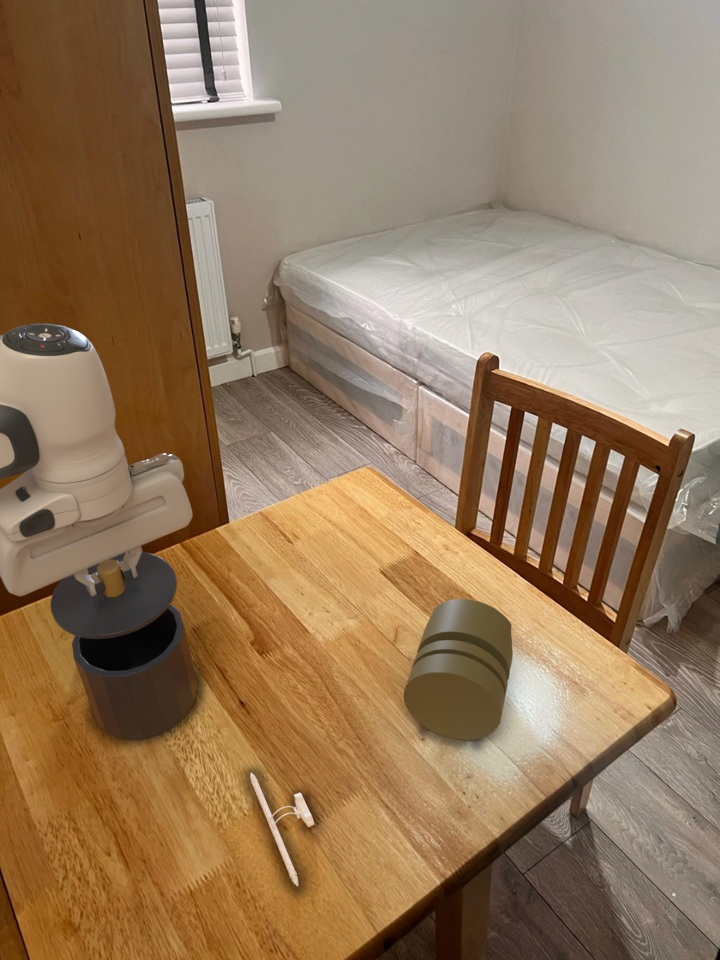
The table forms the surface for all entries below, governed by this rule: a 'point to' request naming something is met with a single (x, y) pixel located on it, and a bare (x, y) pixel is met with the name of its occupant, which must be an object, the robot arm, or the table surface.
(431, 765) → the table surface
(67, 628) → the tin lid
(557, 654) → the table surface
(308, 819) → the picture light
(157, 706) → the tin
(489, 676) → the piston
